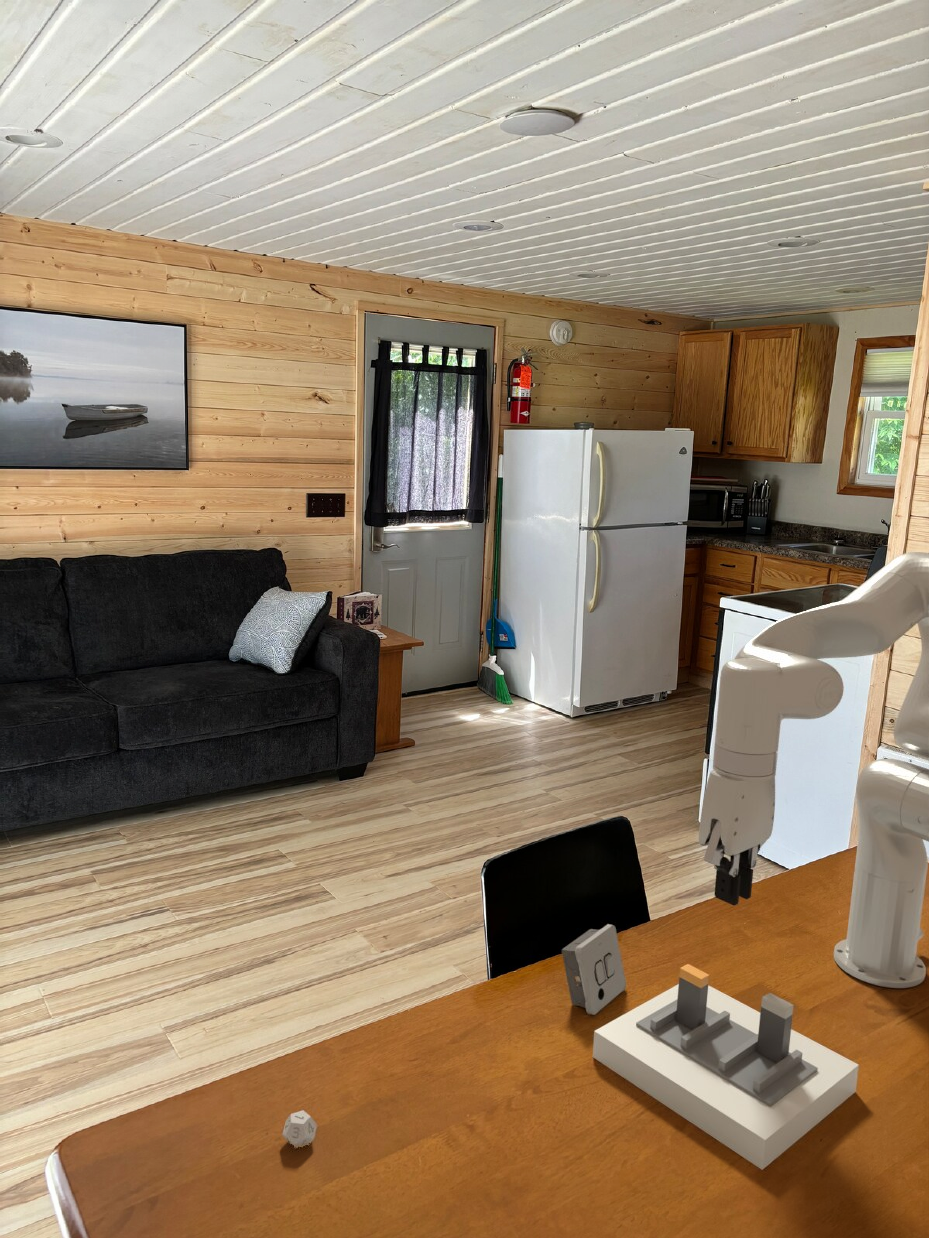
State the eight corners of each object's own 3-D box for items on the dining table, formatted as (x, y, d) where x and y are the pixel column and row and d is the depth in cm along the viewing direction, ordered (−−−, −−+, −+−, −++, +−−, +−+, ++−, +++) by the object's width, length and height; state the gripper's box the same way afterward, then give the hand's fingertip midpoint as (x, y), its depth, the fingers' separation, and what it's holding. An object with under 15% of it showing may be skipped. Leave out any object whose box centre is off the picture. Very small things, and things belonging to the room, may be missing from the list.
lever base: (689, 1000, 133) (696, 924, 131) (855, 1091, 115) (865, 1005, 113) (592, 1056, 120) (597, 973, 118) (762, 1169, 102) (772, 1074, 100)
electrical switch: (592, 1018, 128) (590, 952, 127) (559, 1007, 131) (557, 942, 130) (627, 989, 135) (625, 926, 134) (595, 979, 138) (593, 917, 137)
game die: (295, 1125, 106) (295, 1101, 106) (323, 1136, 105) (323, 1112, 104) (275, 1146, 103) (275, 1121, 103) (304, 1158, 102) (304, 1133, 101)
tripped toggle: (683, 1015, 122) (687, 963, 121) (704, 1027, 120) (709, 974, 118) (675, 1020, 121) (680, 967, 120) (696, 1032, 119) (701, 979, 117)
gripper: (754, 740, 126) (742, 870, 130) (680, 763, 116) (669, 904, 120) (806, 755, 121) (792, 891, 124) (733, 781, 111) (720, 928, 114)
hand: (732, 896), depth 122 cm, fingers closed
